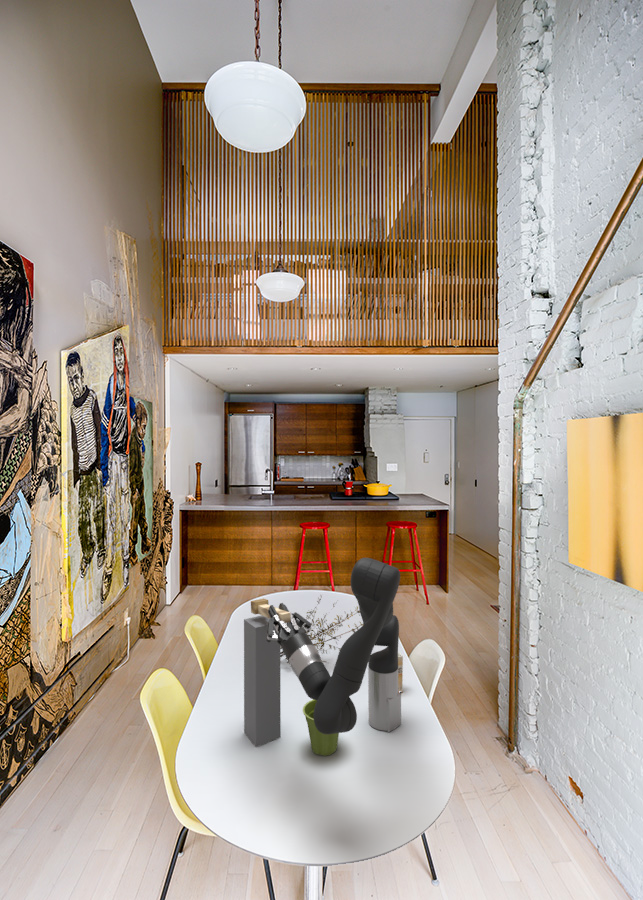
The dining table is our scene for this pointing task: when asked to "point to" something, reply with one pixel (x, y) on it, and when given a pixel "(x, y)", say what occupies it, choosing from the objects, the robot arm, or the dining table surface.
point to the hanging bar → (263, 607)
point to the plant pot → (319, 733)
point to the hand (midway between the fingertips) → (275, 606)
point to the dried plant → (325, 630)
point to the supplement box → (400, 671)
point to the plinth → (261, 682)
